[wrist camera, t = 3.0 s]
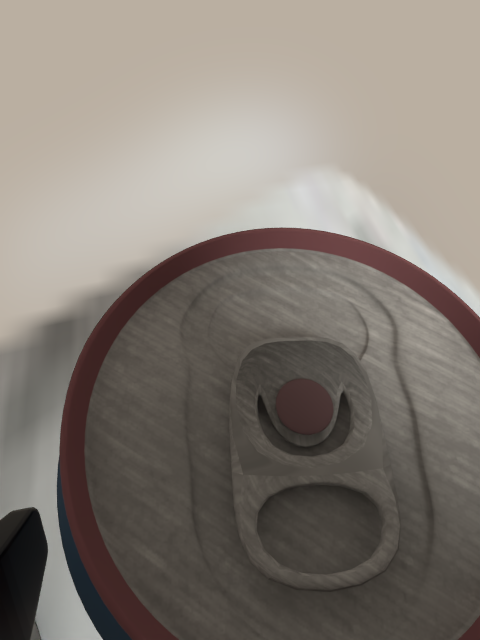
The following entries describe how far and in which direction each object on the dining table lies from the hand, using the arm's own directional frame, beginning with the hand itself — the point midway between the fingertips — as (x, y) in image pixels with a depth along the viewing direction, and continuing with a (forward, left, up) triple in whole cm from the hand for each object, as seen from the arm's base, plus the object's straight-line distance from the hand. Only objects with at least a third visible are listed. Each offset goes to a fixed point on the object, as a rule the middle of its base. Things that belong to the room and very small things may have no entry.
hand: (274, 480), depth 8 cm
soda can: (0, 0, -8) cm, 8 cm away
